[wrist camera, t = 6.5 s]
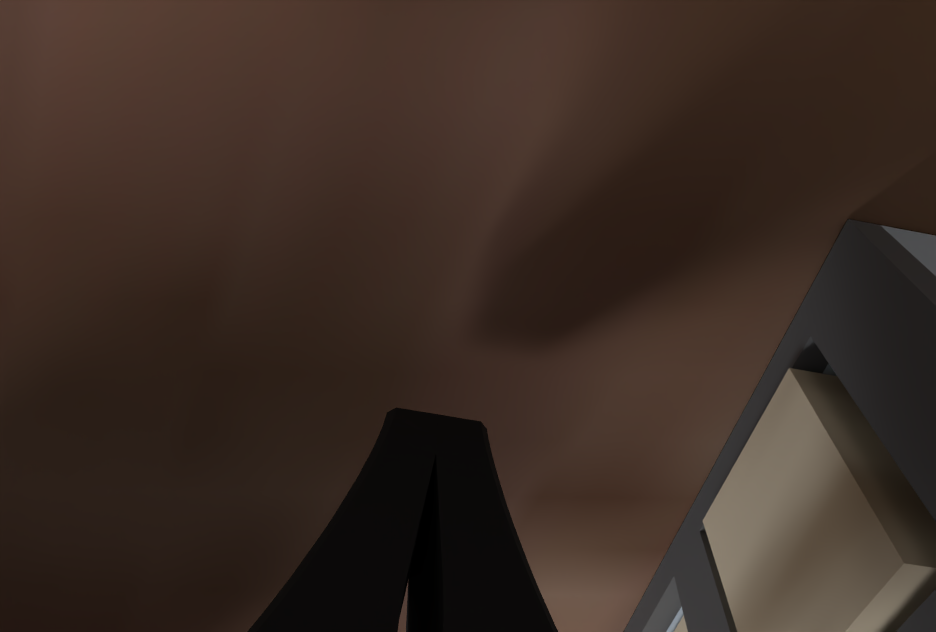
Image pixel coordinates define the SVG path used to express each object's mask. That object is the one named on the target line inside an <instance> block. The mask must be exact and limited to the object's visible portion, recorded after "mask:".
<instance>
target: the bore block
mask: <svg viewBox="0 0 936 632" xmlns="http://www.w3.org/2000/svg"><path fill="white" fill-rule="evenodd" d="M789 368H793V369H799V370H804V371H810V372H816V373H822V374H827V375H833V376H838V378H839V379H840V381H841V382H842V384H843V385H844V387H845V388H846V390H847V391H848V393H849V394H850V396H851V397H852V399H853V400H854V402H855V403H856V405H857V406H858V407H859V409H860V410H861V412H862V413H863V415H864V416H865V418H866V419H867V421H868V422H869V424H870V425H871V427H872V428H873V430H874V431H875V433H876V434H877V436H878V437H879V439H880V440H881V442H882V443H883V445H884V446H885V448H886V449H887V451H888V452H889V453H890V455H891V456H892V458H893V459H894V461H895V462H896V464H897V465H898V467H899V468H900V470H901V471H902V473H903V474H904V476H905V477H906V479H907V480H908V482H909V483H910V485H911V486H912V488H913V489H914V491H915V492H916V494H917V495H918V496H919V498H920V499H921V501H922V502H923V504H924V505H925V507H926V508H927V510H928V511H929V513H930V514H931V516H932V517H933V519H934V520H935V522H936V236H935V235H930V234H924V233H919V232H914V231H909V230H903V229H898V228H893V227H887V226H882V225H877V224H872V223H866V222H861V221H856V220H851V219H848V220H847V221H846V223H845V225H844V227H843V229H842V231H841V233H840V234H839V236H838V238H837V240H836V242H835V244H834V245H833V247H832V249H831V251H830V253H829V255H828V256H827V258H826V260H825V262H824V264H823V266H822V267H821V269H820V271H819V273H818V275H817V277H816V279H815V280H814V282H813V284H812V286H811V288H810V290H809V291H808V293H807V295H806V297H805V299H804V301H803V302H802V304H801V306H800V308H799V310H798V312H797V314H796V315H795V317H794V319H793V321H792V323H791V325H790V326H789V328H788V330H787V332H786V334H785V336H784V337H783V339H782V341H781V343H780V345H779V347H778V349H777V350H776V352H775V354H774V356H773V358H772V360H771V361H770V363H769V365H768V367H767V369H766V371H765V372H764V374H763V376H762V378H761V380H760V382H759V384H758V385H757V387H756V389H755V391H754V393H753V395H752V396H751V398H750V400H749V402H748V404H747V406H746V407H745V409H744V411H743V413H742V415H741V417H740V419H739V420H738V422H737V424H736V426H735V428H734V430H733V431H732V433H731V435H730V437H729V439H728V441H727V442H726V444H725V446H724V448H723V450H722V452H721V453H720V455H719V457H718V459H717V461H716V463H715V465H714V466H713V468H712V470H711V472H710V474H709V476H708V477H707V479H706V481H705V483H704V485H703V487H702V488H701V490H700V492H699V494H698V496H697V498H696V500H695V501H694V503H693V505H692V507H691V509H690V511H689V512H688V514H687V516H686V518H685V520H684V522H683V523H682V525H681V527H680V529H679V531H678V533H677V535H676V536H675V538H674V540H673V542H672V544H671V546H670V547H669V549H668V551H667V553H666V555H665V557H664V558H663V560H662V562H661V564H660V566H659V568H658V570H657V571H656V573H655V575H654V577H653V579H652V581H651V582H650V584H649V586H648V588H647V590H646V592H645V593H644V595H643V597H642V599H641V601H640V603H639V605H638V606H637V608H636V610H635V612H634V614H633V616H632V617H631V619H630V621H629V623H628V625H627V627H626V628H625V630H624V632H737V629H736V626H735V622H734V619H733V616H732V613H731V610H730V607H729V603H728V600H727V597H726V594H725V591H724V587H723V584H722V581H721V578H720V575H719V572H718V568H717V565H716V562H715V559H714V556H713V553H712V549H711V546H710V543H709V540H708V537H707V533H706V530H705V527H704V524H703V519H704V517H705V516H706V514H707V512H708V510H709V509H710V507H711V505H712V503H713V501H714V500H715V498H716V496H717V494H718V493H719V491H720V489H721V487H722V486H723V484H724V482H725V480H726V478H727V477H728V475H729V473H730V471H731V470H732V468H733V466H734V464H735V463H736V461H737V459H738V457H739V456H740V454H741V452H742V450H743V448H744V447H745V445H746V443H747V441H748V440H749V438H750V436H751V434H752V433H753V431H754V429H755V427H756V426H757V424H758V422H759V420H760V418H761V417H762V415H763V413H764V411H765V410H766V408H767V406H768V404H769V403H770V401H771V399H772V397H773V395H774V394H775V392H776V390H777V388H778V387H779V385H780V383H781V381H782V380H783V378H784V376H785V374H786V373H787V371H788V369H789ZM896 632H936V589H935V590H934V591H933V592H932V593H931V594H930V596H929V597H928V598H927V599H926V600H925V601H924V602H923V603H922V604H921V605H920V606H919V607H918V608H917V609H916V610H915V612H914V613H913V614H912V615H911V616H910V617H909V618H908V619H907V620H906V621H905V622H904V623H903V624H902V625H901V626H900V628H899V629H898V630H897V631H896Z"/></svg>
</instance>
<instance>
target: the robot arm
mask: <svg viewBox="0 0 936 632" xmlns="http://www.w3.org/2000/svg"><path fill="white" fill-rule="evenodd" d="M408 578H409V579H408ZM407 583H408V600H407V622H406V632H558V630H557V628H556V626H555V624H554V622H553V620H552V617H551V615H550V613H549V611H548V608H547V606H546V604H545V602H544V599H543V597H542V595H541V593H540V590H539V588H538V586H537V583H536V581H535V578H534V576H533V574H532V571H531V569H530V566H529V564H528V561H527V559H526V556H525V553H524V551H523V548H522V545H521V543H520V540H519V537H518V535H517V532H516V529H515V527H514V524H513V522H512V519H511V516H510V513H509V510H508V507H507V504H506V501H505V498H504V495H503V491H502V488H501V485H500V482H499V479H498V475H497V472H496V468H495V464H494V461H493V457H492V453H491V448H490V444H489V439H488V434H487V429H486V427H485V426H484V425H483V424H482V422H480V421H474V420H468V419H462V418H456V417H450V416H444V415H438V414H432V413H426V412H419V411H413V410H407V409H401V408H395V409H393V410H391V411H389V412H387V415H386V418H385V421H384V424H383V427H382V430H381V432H380V434H379V437H378V439H377V441H376V443H375V445H374V447H373V449H372V451H371V453H370V455H369V457H368V459H367V461H366V463H365V465H364V466H363V468H362V470H361V472H360V474H359V476H358V477H357V479H356V481H355V482H354V484H353V486H352V487H351V489H350V491H349V492H348V494H347V495H346V497H345V499H344V500H343V502H342V503H341V505H340V507H339V508H338V510H337V511H336V513H335V515H334V516H333V518H332V519H331V521H330V522H329V524H328V525H327V527H326V528H325V530H324V531H323V533H322V534H321V536H320V537H319V538H318V540H317V541H316V543H315V544H314V545H313V547H312V548H311V550H310V551H309V552H308V554H307V555H306V557H305V558H304V559H303V561H302V562H301V564H300V565H299V566H298V568H297V569H296V571H295V572H294V573H293V575H292V576H291V578H290V579H289V580H288V582H287V583H286V584H285V585H284V587H283V588H282V589H281V591H280V592H279V593H278V594H277V596H276V597H275V598H274V600H273V601H272V602H271V604H270V605H269V606H268V607H267V608H266V610H265V611H264V612H263V613H262V615H261V616H260V617H259V618H258V620H257V621H256V622H255V623H254V624H253V626H252V627H251V628H250V629H249V631H248V632H397V631H398V623H399V617H400V613H401V609H402V604H403V600H404V596H405V591H406V587H407Z"/></svg>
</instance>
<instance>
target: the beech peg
mask: <svg viewBox="0 0 936 632" xmlns="http://www.w3.org/2000/svg"><path fill="white" fill-rule="evenodd" d="M703 524H704V527H705V530H706V533H707V537H708V540H709V543H710V546H711V549H712V553H713V556H714V559H715V562H716V565H717V568H718V572H719V575H720V578H721V581H722V584H723V587H724V591H725V594H726V597H727V600H728V603H729V607H730V610H731V613H732V616H733V619H734V622H735V626H736V629H737V632H896V631H897V630H898V629H899V628H900V626H901V625H902V624H903V623H904V622H905V621H906V620H907V619H908V618H909V617H910V616H911V615H912V614H913V613H914V612H915V610H916V609H917V608H918V607H919V606H920V605H921V604H922V603H923V602H924V601H925V600H926V599H927V598H928V597H929V596H930V594H931V593H932V592H933V591H934V590H935V589H936V522H935V520H934V519H933V517H932V516H931V514H930V513H929V511H928V510H927V508H926V507H925V505H924V504H923V502H922V501H921V499H920V498H919V496H918V495H917V494H916V492H915V491H914V489H913V488H912V486H911V485H910V483H909V482H908V480H907V479H906V477H905V476H904V474H903V473H902V471H901V470H900V468H899V467H898V465H897V464H896V462H895V461H894V459H893V458H892V456H891V455H890V453H889V452H888V451H887V449H886V448H885V446H884V445H883V443H882V442H881V440H880V439H879V437H878V436H877V434H876V433H875V431H874V430H873V428H872V427H871V425H870V424H869V422H868V421H867V419H866V418H865V416H864V415H863V413H862V412H861V410H860V409H859V407H858V406H857V405H856V403H855V402H854V400H853V399H852V397H851V396H850V394H849V393H848V391H847V390H846V388H845V387H844V385H843V384H842V382H841V381H840V379H839V378H838V376H833V375H827V374H822V373H816V372H810V371H804V370H799V369H793V368H789V369H788V371H787V373H786V374H785V376H784V378H783V380H782V381H781V383H780V385H779V387H778V388H777V390H776V392H775V394H774V395H773V397H772V399H771V401H770V403H769V404H768V406H767V408H766V410H765V411H764V413H763V415H762V417H761V418H760V420H759V422H758V424H757V426H756V427H755V429H754V431H753V433H752V434H751V436H750V438H749V440H748V441H747V443H746V445H745V447H744V448H743V450H742V452H741V454H740V456H739V457H738V459H737V461H736V463H735V464H734V466H733V468H732V470H731V471H730V473H729V475H728V477H727V478H726V480H725V482H724V484H723V486H722V487H721V489H720V491H719V493H718V494H717V496H716V498H715V500H714V501H713V503H712V505H711V507H710V509H709V510H708V512H707V514H706V516H705V517H704V519H703Z"/></svg>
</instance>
